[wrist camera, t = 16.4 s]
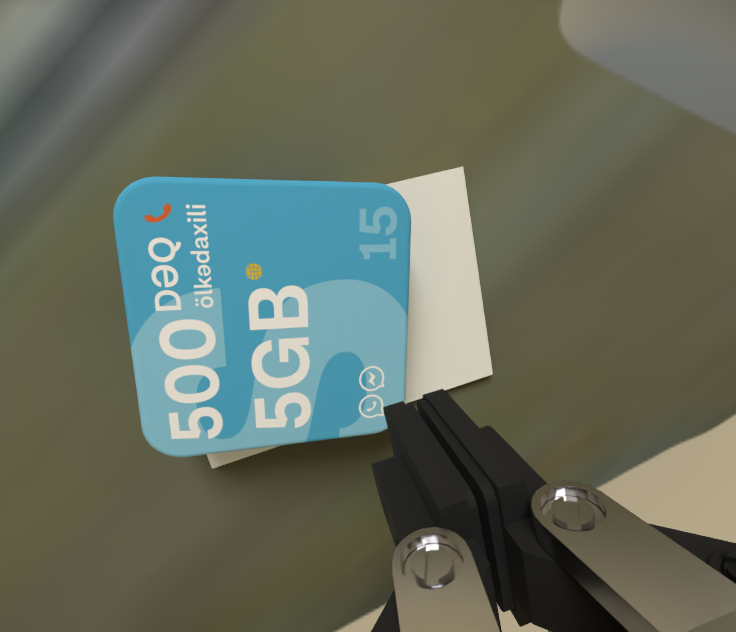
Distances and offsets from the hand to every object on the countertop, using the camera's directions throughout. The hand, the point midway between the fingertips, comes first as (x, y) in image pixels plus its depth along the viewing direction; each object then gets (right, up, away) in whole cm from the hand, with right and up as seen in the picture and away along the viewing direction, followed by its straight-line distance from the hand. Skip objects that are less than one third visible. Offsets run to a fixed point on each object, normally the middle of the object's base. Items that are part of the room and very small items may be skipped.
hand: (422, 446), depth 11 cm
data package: (0, +4, +11) cm, 11 cm away
